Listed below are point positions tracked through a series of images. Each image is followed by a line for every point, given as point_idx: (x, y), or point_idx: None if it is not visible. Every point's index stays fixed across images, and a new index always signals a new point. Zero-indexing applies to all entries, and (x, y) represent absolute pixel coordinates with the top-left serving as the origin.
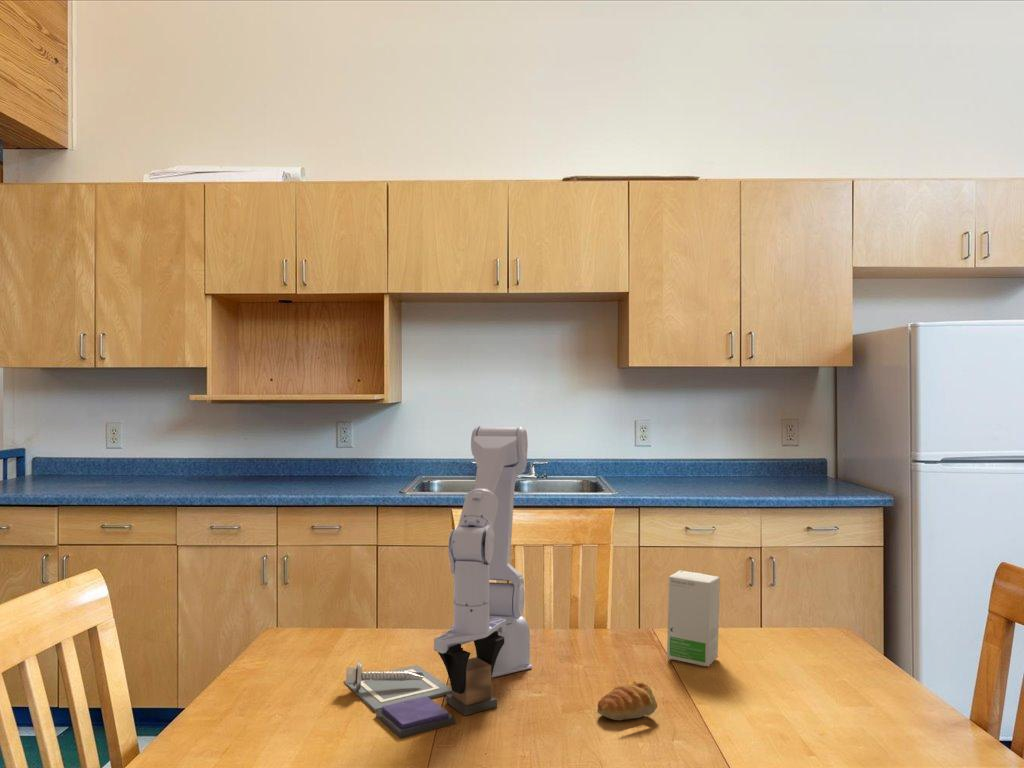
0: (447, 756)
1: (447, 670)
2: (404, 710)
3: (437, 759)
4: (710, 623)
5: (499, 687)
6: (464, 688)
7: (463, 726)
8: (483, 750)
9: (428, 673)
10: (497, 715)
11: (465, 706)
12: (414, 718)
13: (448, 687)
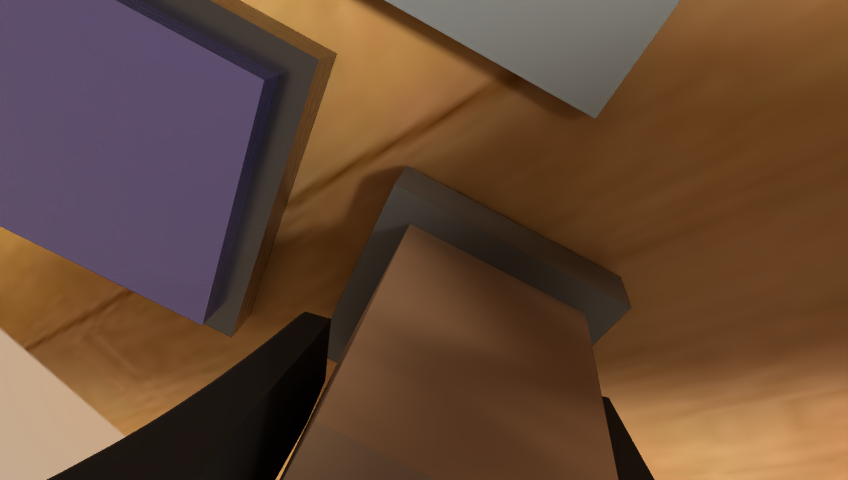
0: (80, 384)
1: (169, 418)
2: (19, 99)
3: (46, 368)
4: None
5: (806, 335)
6: (311, 409)
7: None
8: None
9: None
10: None
11: (328, 350)
12: (27, 216)
13: (634, 44)
